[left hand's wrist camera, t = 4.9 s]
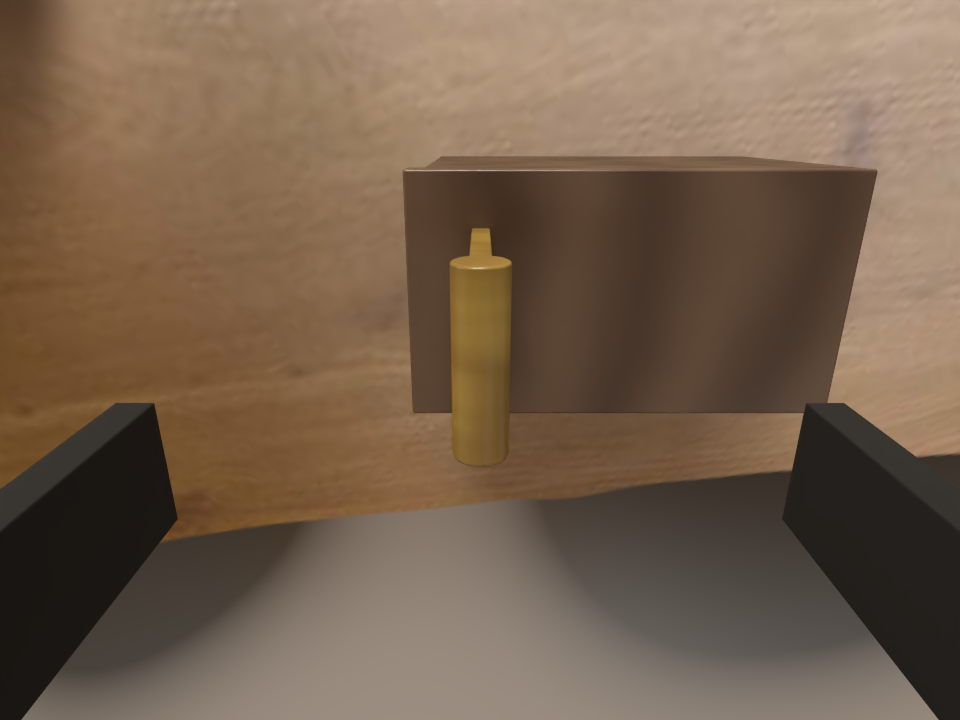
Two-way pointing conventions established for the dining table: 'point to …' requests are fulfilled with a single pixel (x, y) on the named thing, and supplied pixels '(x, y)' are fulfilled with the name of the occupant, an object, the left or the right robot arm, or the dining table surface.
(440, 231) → the lid
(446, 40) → the dining table surface
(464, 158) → the chest
